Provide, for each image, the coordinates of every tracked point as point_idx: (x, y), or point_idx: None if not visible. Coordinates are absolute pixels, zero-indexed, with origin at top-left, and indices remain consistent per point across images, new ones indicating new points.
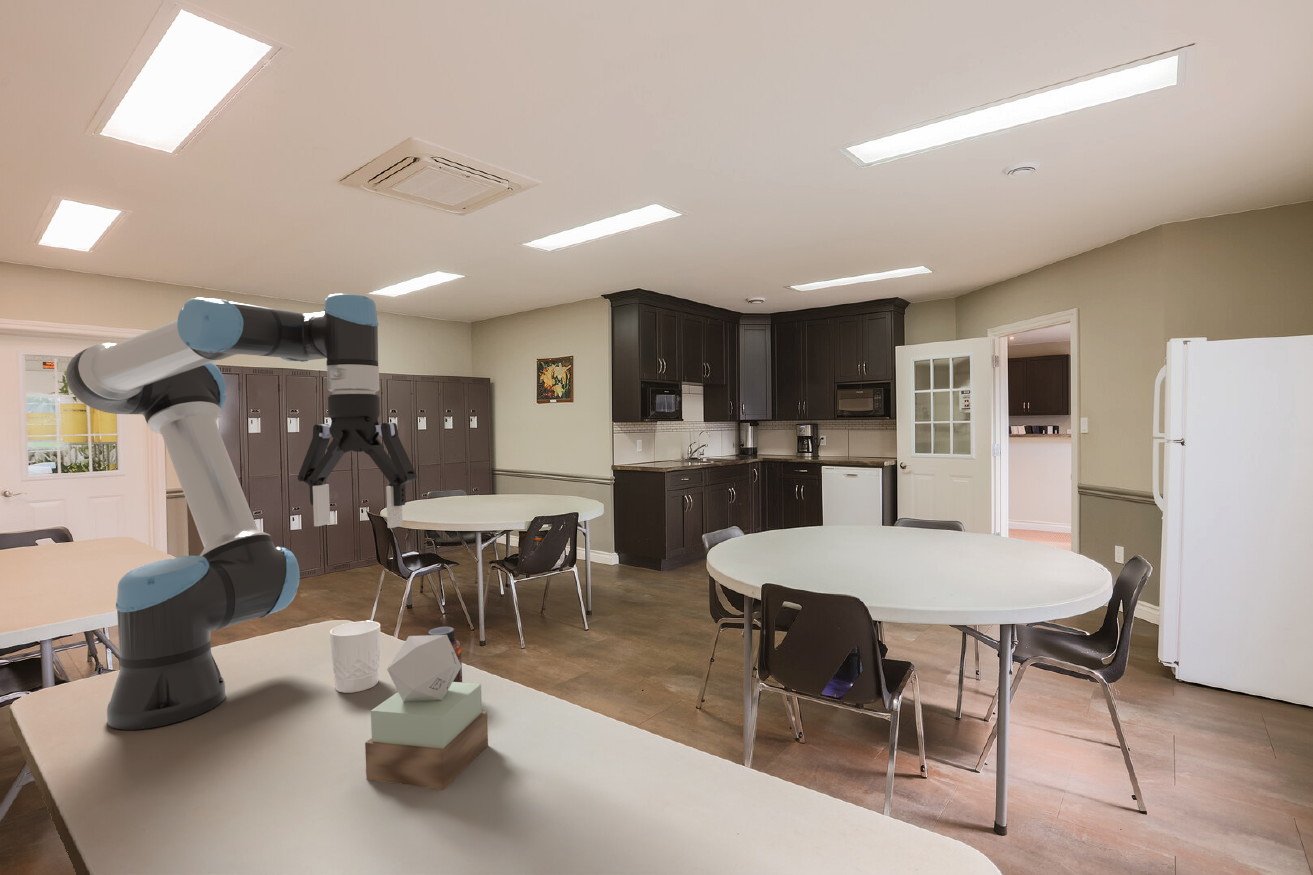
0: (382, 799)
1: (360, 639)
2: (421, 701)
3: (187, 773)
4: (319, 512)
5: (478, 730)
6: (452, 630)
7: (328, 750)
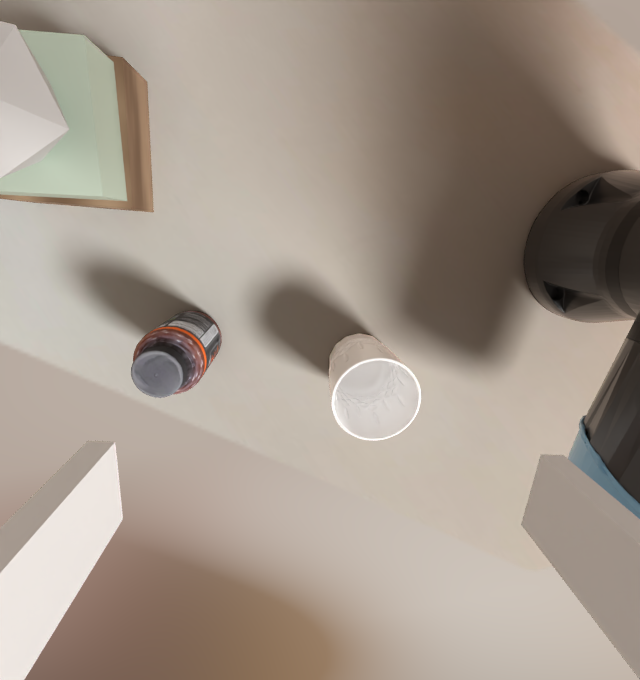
0: (85, 29)
1: (343, 367)
2: None
3: (416, 63)
4: (590, 518)
5: None
6: (132, 377)
7: (260, 156)
